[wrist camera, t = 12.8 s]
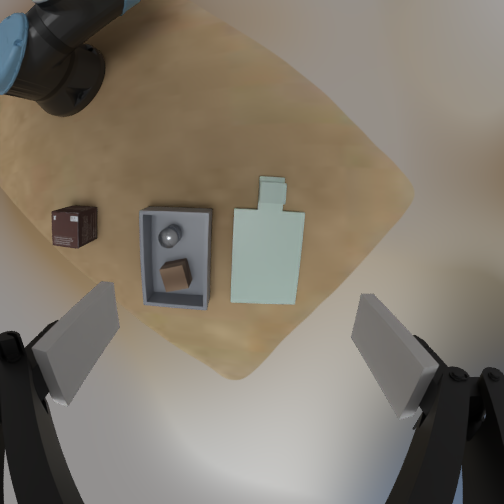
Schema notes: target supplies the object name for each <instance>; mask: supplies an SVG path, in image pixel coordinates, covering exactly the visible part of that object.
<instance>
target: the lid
mask: <svg viewBox="0 0 504 504" xmlns="http://www.w3.org/2000/svg"><path fill="white" fill-rule="evenodd" d="M286 189H287V184H286V183H285V178H280V177H266V176H260V179H259V195H258V209H245V208H234V228H233V251H232V277H231V302H236V303H262V304H295V299H296V292H297V284H298V275H299V267H300V258H301V249H302V239H303V229H304V219H305V213H304V212H295V211H282V210H283V204H285V202H286Z"/></svg>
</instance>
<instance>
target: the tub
mask: <svg viewBox="0 0 504 504" xmlns="http://www.w3.org/2000/svg"><path fill="white" fill-rule="evenodd" d="M169 225H176V226H178V227H179V228H180V229H181V231H182V238H181V240H180V241H179V242H178V243H177V244H176V245H175V246H174V247H172V248H164V247H162V246H161V245H160V243H159V241H158V235H159V233H160V232H161V231H162V230H163V229H165V228H166V227H168V226H169ZM139 226H140V258H141V276H142V290H143V302H144V305H151V306H161V307H172V308H184V309H197V310H207V307H208V303H209V299H210V263H211V231H212V209H208V208H184V207H151V206H149V207H147V208H144V209H142V210H140V211H139ZM184 258H187V261H188V264H189V268H190V272H191V275H192V279H193V280H192V282H191V284H190V286H189V288H187V289H182V290H176V291H170V292H166V290H165V287H164V284H163V281H162V277H161V274H160V271H159V270H160V268H161V267H162V266H163V265H164V263H165V262H169V261H174V260H179V259H184Z"/></svg>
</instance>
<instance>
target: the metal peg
mask: <svg viewBox="0 0 504 504" xmlns="http://www.w3.org/2000/svg"><path fill="white" fill-rule="evenodd" d="M181 238H182V231H181V229H180V228H179V227H178V226H176V225H169V226H168V227H166V228H165V229H163V230H162V231H161V232H160V233H159V235H158V241H159V243H160V245H161V246H162V247H164V248H172V247H174V246H175V245H176V244H177V243H178V242H179V241H180V240H181Z"/></svg>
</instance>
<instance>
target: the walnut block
mask: <svg viewBox="0 0 504 504" xmlns="http://www.w3.org/2000/svg"><path fill="white" fill-rule="evenodd" d="M159 271H160V274H161V277H162V281H163V284H164V287H165V290H166V292H170V291H176V290H182V289H187V288H189V286H190V284H191V282H192V280H193V279H192V275H191V272H190V268H189V264H188V261H187V258H184V259H179V260H174V261H169V262H165V263H164V265H163V266H162V267H161V268H160V270H159Z"/></svg>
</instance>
